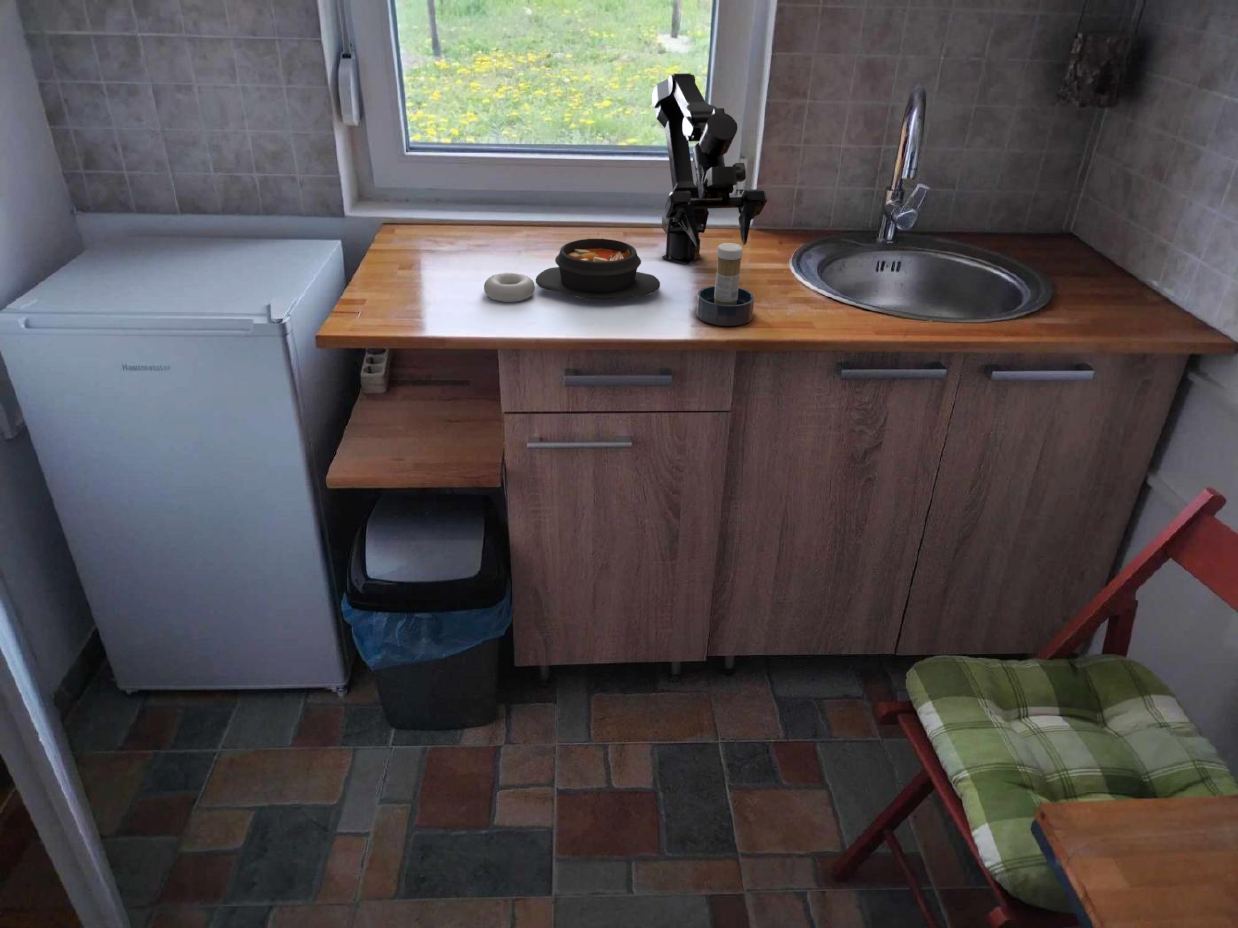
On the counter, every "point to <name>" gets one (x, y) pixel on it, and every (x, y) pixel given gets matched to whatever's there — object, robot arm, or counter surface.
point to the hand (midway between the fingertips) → (721, 244)
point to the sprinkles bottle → (727, 274)
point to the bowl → (724, 308)
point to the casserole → (598, 271)
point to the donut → (509, 287)
